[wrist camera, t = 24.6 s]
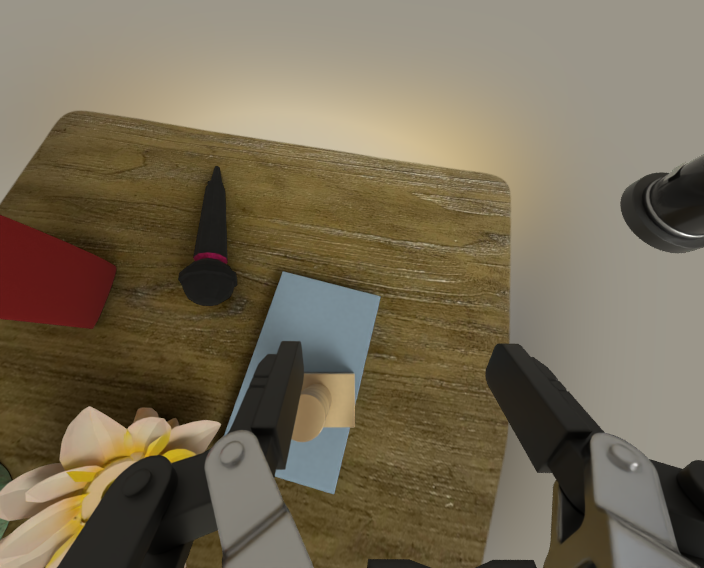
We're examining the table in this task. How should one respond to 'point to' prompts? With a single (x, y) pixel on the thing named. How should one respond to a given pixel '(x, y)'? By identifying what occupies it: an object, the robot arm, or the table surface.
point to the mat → (316, 360)
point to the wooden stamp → (324, 403)
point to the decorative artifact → (0, 480)
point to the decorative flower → (86, 480)
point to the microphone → (210, 251)
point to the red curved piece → (50, 278)
